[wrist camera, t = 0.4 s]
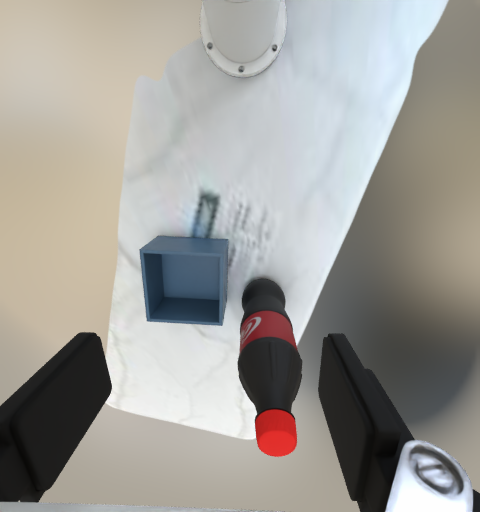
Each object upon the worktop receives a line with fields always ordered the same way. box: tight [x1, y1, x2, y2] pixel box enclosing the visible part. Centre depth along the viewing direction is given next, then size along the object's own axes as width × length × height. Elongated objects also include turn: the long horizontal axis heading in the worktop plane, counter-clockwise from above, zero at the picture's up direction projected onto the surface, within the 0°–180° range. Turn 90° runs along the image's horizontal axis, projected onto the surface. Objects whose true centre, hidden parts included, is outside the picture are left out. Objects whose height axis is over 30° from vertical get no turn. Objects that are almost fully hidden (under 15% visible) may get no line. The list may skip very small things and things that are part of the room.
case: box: [140, 236, 228, 326], centre depth 46 cm, size 14×14×9 cm
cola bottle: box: [238, 279, 302, 457], centre depth 37 cm, size 8×8×30 cm
